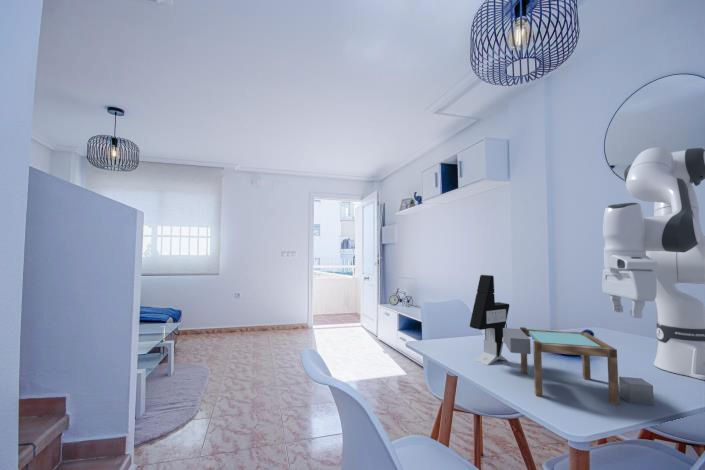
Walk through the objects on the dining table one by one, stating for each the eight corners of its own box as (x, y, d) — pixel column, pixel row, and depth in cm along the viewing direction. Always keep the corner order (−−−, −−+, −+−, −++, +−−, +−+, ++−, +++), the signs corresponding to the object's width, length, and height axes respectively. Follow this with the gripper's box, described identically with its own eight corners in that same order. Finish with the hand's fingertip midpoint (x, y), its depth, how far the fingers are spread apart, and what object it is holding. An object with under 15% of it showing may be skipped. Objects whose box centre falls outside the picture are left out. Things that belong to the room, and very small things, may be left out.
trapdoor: (580, 345, 98) (580, 332, 99) (601, 360, 85) (601, 344, 85) (502, 340, 104) (502, 327, 105) (511, 353, 91) (510, 338, 91)
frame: (588, 377, 99) (586, 331, 100) (619, 404, 82) (616, 347, 82) (521, 371, 104) (520, 327, 105) (536, 395, 87) (534, 342, 88)
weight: (642, 397, 86) (641, 378, 86) (654, 406, 81) (653, 385, 81) (619, 395, 87) (619, 376, 87) (629, 403, 82) (628, 383, 83)
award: (481, 366, 109) (479, 276, 111) (469, 361, 114) (467, 275, 116) (511, 359, 116) (509, 274, 118) (499, 355, 121) (497, 274, 123)
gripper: (594, 262, 99) (596, 308, 98) (630, 262, 79) (632, 320, 78) (619, 262, 97) (621, 309, 96) (662, 262, 77) (665, 322, 76)
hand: (626, 314), depth 87 cm, fingers open, 8 cm apart
